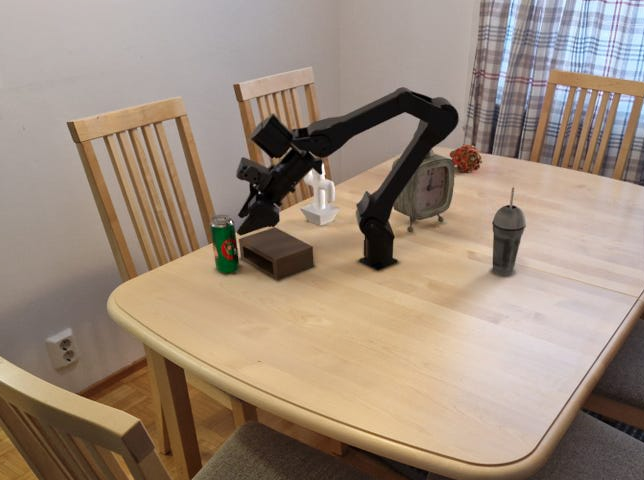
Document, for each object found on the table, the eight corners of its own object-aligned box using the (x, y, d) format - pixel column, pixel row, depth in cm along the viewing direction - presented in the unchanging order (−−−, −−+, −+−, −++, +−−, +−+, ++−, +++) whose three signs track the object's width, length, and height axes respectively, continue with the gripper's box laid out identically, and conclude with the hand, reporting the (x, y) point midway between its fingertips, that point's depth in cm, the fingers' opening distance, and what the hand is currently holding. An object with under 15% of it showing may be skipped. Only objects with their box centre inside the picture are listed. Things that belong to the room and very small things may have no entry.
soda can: (218, 264, 144) (211, 213, 138) (241, 264, 145) (235, 213, 138) (214, 274, 140) (207, 223, 133) (238, 274, 141) (232, 223, 134)
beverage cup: (521, 267, 148) (534, 183, 137) (515, 281, 143) (528, 194, 131) (490, 262, 150) (500, 178, 139) (483, 275, 144) (493, 189, 133)
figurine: (323, 230, 161) (321, 171, 153) (297, 220, 166) (293, 162, 158) (343, 222, 166) (342, 164, 158) (317, 212, 171) (314, 156, 162)
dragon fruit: (478, 181, 200) (449, 176, 207) (492, 160, 201) (463, 156, 209) (467, 161, 193) (438, 158, 201) (482, 140, 195) (452, 137, 203)
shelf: (313, 266, 145) (313, 246, 142) (277, 280, 139) (276, 259, 136) (276, 246, 153) (275, 227, 150) (240, 259, 147) (238, 238, 144)
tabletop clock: (409, 237, 160) (414, 134, 146) (386, 225, 165) (388, 125, 151) (450, 223, 168) (459, 124, 154) (427, 212, 174) (432, 116, 159)
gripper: (257, 132, 136) (210, 184, 141) (257, 160, 121) (204, 217, 126) (297, 168, 142) (250, 217, 146) (301, 199, 127) (249, 253, 131)
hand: (239, 225), depth 137 cm, fingers open, 9 cm apart
